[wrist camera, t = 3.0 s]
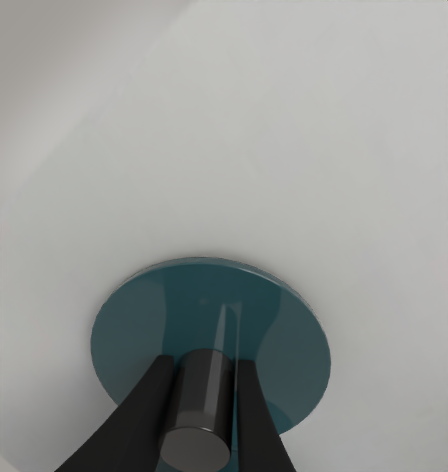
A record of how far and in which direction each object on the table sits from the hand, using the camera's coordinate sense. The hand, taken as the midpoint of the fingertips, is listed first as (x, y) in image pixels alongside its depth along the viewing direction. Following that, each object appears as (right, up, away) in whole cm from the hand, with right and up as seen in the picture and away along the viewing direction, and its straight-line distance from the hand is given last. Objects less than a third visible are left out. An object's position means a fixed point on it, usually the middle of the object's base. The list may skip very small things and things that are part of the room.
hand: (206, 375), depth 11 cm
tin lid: (0, 0, +1) cm, 1 cm away
